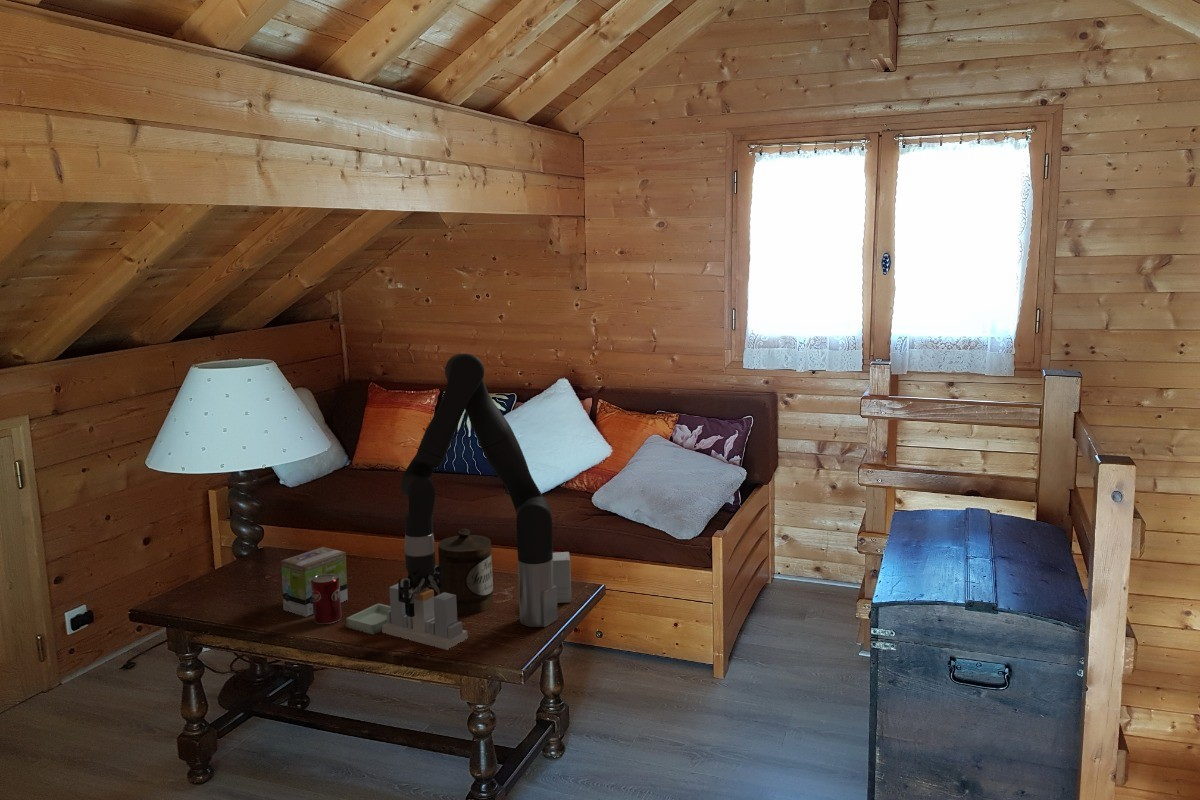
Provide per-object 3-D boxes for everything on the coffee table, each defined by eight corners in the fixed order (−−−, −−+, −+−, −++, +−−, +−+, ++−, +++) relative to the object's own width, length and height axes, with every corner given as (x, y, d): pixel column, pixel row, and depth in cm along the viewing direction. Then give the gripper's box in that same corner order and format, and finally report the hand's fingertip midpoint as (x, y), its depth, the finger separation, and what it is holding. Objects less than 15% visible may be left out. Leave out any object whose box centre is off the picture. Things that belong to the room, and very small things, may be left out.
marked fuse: (435, 626, 241) (433, 589, 239) (424, 632, 237) (422, 595, 236) (423, 623, 243) (421, 587, 241) (412, 629, 239) (410, 592, 238)
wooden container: (483, 616, 252) (480, 538, 249) (432, 613, 255) (428, 535, 252) (500, 596, 267) (497, 522, 263) (451, 593, 270) (447, 520, 266)
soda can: (313, 627, 247) (310, 583, 245) (314, 616, 254) (311, 574, 252) (341, 623, 249) (339, 580, 247) (341, 613, 256) (339, 571, 254)
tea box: (307, 618, 253) (303, 566, 251) (283, 611, 259) (279, 560, 256) (349, 600, 266) (346, 550, 264) (325, 594, 271) (322, 545, 269)
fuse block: (467, 638, 238) (465, 593, 236) (447, 650, 231) (445, 603, 229) (403, 622, 249) (401, 579, 248) (382, 632, 243) (379, 588, 241)
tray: (406, 618, 252) (405, 609, 251) (373, 634, 242) (373, 625, 241) (378, 611, 257) (378, 603, 256) (346, 627, 247) (345, 618, 246)
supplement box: (571, 593, 268) (570, 551, 266) (571, 603, 261) (570, 559, 259) (545, 594, 268) (544, 552, 266) (544, 604, 260) (543, 560, 258)
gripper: (411, 560, 229) (413, 623, 232) (449, 545, 241) (451, 604, 244) (389, 555, 233) (391, 617, 236) (427, 540, 245) (429, 599, 248)
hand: (422, 610), depth 240 cm, fingers open, 8 cm apart
